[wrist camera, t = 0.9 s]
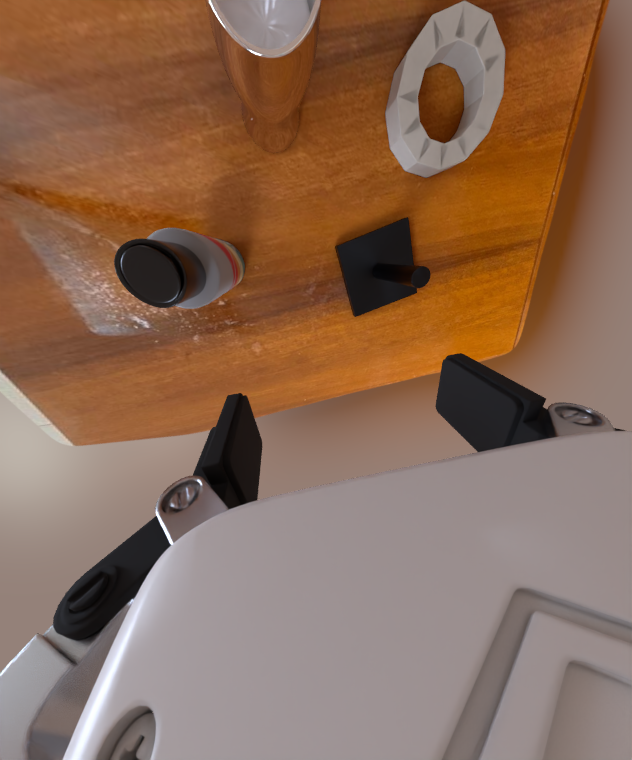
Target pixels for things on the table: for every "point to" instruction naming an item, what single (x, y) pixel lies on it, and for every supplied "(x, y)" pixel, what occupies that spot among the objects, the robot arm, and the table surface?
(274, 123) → the beer glass
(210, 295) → the lotion bottle
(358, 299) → the post
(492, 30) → the tape roll
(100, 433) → the table surface
